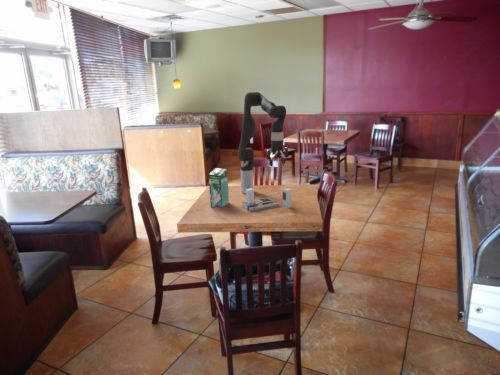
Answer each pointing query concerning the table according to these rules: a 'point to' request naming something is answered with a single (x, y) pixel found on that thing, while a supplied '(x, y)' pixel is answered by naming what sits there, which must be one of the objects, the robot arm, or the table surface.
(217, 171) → the milk carton
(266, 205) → the rail board
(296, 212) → the table surface
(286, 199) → the loose finger
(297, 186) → the table surface
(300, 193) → the table surface
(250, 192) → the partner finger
